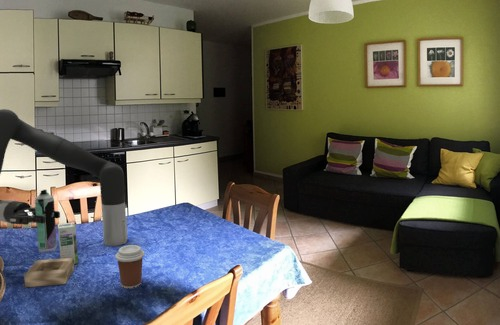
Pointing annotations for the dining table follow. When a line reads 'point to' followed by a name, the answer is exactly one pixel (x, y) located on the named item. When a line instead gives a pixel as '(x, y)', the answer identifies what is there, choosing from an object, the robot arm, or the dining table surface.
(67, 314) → the dining table surface
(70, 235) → the syrup box
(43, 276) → the collar
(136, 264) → the coffee cup
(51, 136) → the robot arm
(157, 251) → the dining table surface
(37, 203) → the spray can
